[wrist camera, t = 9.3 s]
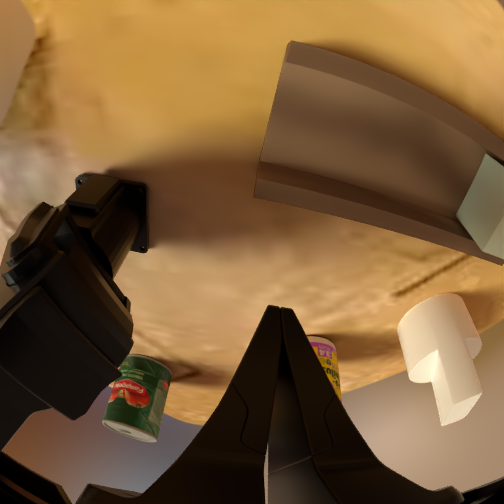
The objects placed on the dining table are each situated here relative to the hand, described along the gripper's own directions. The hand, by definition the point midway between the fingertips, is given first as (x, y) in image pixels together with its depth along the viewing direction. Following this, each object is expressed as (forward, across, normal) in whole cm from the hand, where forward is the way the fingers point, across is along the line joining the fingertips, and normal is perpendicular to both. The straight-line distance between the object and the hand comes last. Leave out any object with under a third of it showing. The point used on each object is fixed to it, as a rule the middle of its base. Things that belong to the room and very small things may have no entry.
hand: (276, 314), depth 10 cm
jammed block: (+11, -17, -4) cm, 21 cm away
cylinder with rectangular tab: (+12, -22, +12) cm, 28 cm away
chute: (+12, -10, -4) cm, 16 cm away
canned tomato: (+12, +11, +33) cm, 37 cm away
